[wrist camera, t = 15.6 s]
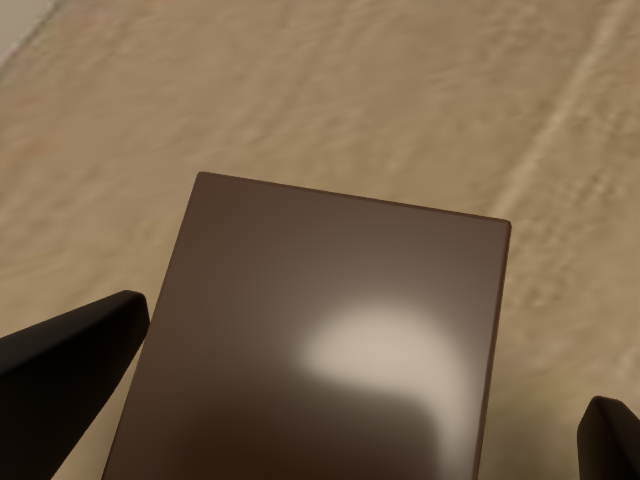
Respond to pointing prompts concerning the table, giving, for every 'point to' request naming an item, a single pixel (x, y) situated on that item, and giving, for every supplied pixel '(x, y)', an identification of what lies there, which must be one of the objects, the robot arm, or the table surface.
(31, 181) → the table surface
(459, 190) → the table surface
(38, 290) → the table surface
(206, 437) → the walnut block
